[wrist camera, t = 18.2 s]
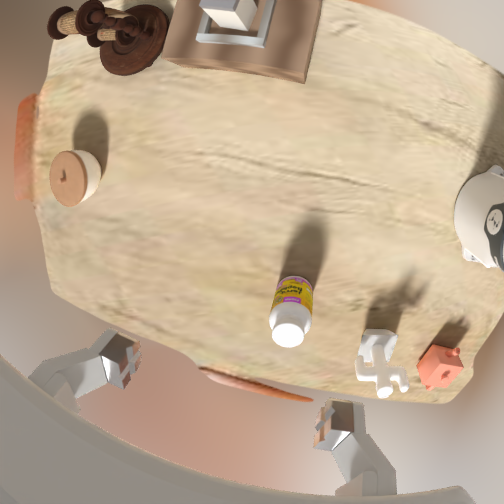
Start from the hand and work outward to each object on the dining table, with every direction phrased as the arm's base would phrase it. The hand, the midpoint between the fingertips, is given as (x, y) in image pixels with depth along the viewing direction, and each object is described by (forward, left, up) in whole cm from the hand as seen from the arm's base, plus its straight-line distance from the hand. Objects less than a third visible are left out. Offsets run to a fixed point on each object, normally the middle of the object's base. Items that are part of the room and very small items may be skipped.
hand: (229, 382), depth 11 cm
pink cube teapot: (-42, +24, -37) cm, 61 cm away
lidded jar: (+40, +4, -37) cm, 55 cm away
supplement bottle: (-5, +17, -37) cm, 41 cm away
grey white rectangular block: (+12, -24, -29) cm, 40 cm away
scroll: (+33, -23, -37) cm, 55 cm away
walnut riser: (+12, -24, -37) cm, 46 cm away
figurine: (-24, +23, -37) cm, 50 cm away
